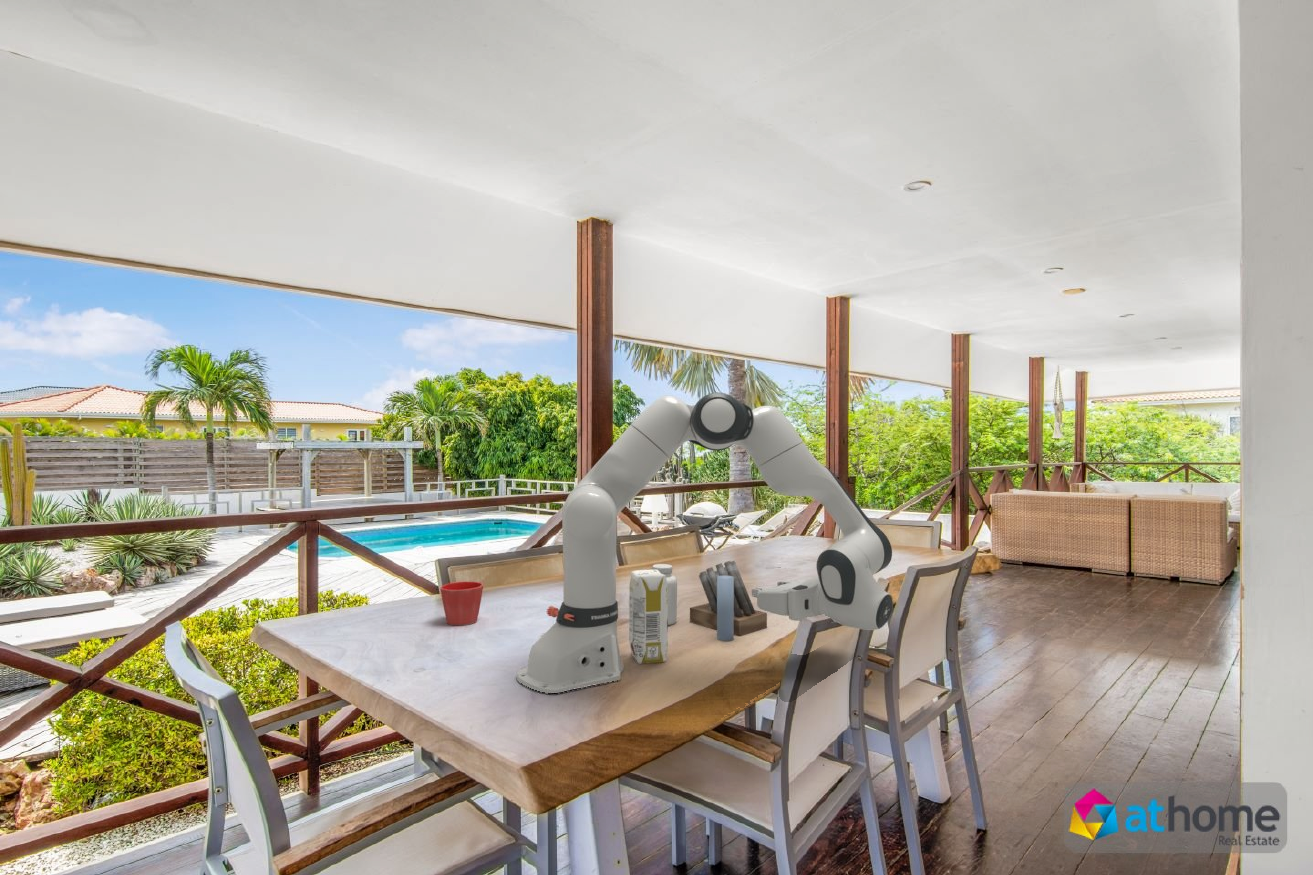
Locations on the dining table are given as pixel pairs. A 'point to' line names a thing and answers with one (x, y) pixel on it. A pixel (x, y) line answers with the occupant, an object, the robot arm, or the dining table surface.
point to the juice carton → (648, 616)
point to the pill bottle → (669, 590)
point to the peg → (725, 608)
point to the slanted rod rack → (743, 608)
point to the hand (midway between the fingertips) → (766, 588)
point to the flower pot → (461, 602)
